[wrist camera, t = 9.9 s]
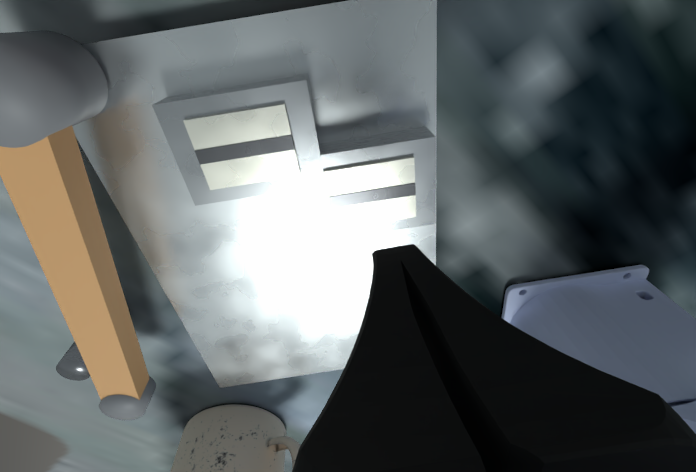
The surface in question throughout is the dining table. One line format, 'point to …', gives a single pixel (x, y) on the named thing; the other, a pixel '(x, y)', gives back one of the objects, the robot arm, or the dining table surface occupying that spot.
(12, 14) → the dining table surface
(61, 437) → the dining table surface
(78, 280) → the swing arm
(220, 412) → the teacup with lid
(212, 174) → the base plate
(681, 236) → the dining table surface
